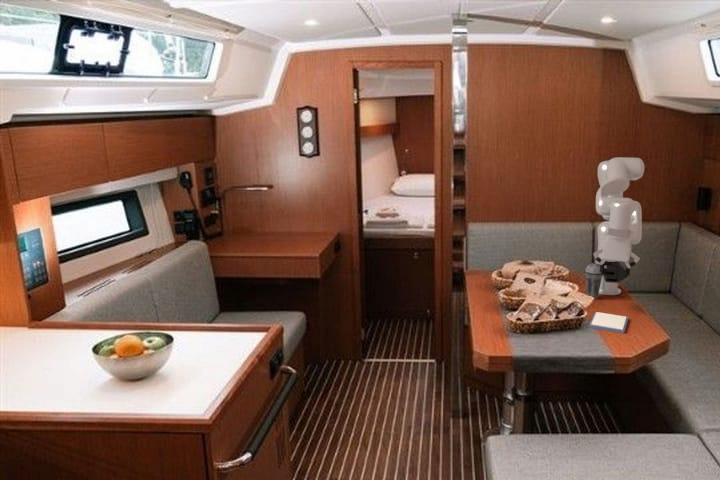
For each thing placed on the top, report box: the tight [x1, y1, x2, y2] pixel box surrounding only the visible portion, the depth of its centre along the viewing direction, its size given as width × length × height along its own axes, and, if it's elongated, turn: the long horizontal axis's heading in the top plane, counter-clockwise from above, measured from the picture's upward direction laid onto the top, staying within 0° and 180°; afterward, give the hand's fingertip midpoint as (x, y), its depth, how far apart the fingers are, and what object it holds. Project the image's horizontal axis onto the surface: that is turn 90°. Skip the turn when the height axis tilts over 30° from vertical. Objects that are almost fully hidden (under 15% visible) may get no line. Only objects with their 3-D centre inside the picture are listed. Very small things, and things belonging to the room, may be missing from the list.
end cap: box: [603, 261, 626, 284], centre depth 230 cm, size 10×7×7 cm
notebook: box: [588, 311, 629, 334], centre depth 220 cm, size 16×12×1 cm
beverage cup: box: [584, 259, 603, 301], centre depth 247 cm, size 7×7×20 cm
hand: (614, 275), depth 231 cm, fingers closed on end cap, 8 cm apart
